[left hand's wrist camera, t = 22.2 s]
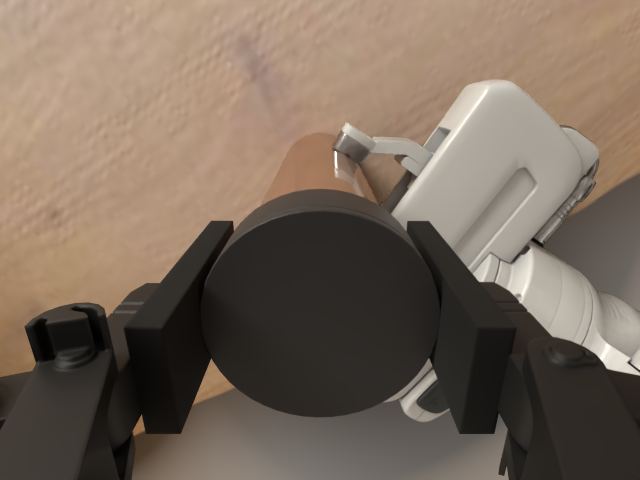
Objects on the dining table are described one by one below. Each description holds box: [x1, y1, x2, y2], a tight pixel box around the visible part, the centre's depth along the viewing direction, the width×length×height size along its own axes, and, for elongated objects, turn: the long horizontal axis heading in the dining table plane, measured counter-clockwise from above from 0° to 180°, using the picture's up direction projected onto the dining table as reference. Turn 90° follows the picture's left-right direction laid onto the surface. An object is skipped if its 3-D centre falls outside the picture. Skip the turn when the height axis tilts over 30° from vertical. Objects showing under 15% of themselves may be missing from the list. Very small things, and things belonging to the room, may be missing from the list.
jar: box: [261, 133, 380, 206], centre depth 20 cm, size 5×5×19 cm
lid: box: [200, 189, 441, 417], centre depth 11 cm, size 6×6×2 cm
